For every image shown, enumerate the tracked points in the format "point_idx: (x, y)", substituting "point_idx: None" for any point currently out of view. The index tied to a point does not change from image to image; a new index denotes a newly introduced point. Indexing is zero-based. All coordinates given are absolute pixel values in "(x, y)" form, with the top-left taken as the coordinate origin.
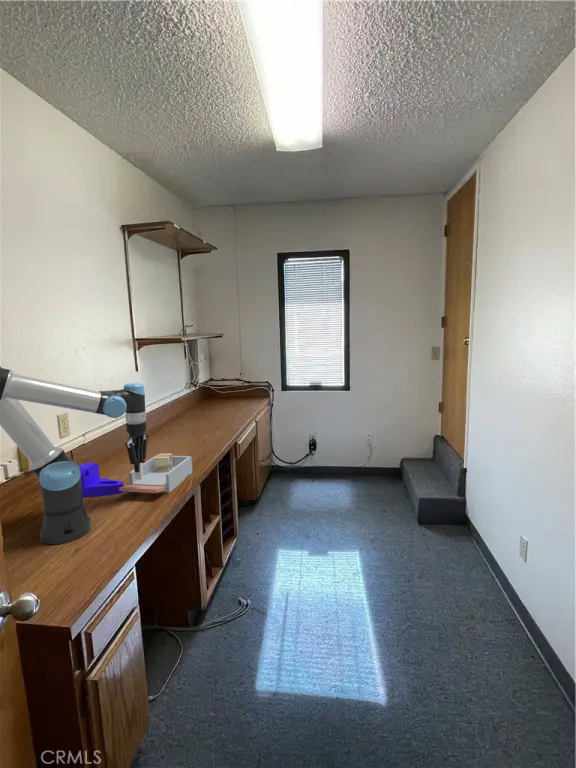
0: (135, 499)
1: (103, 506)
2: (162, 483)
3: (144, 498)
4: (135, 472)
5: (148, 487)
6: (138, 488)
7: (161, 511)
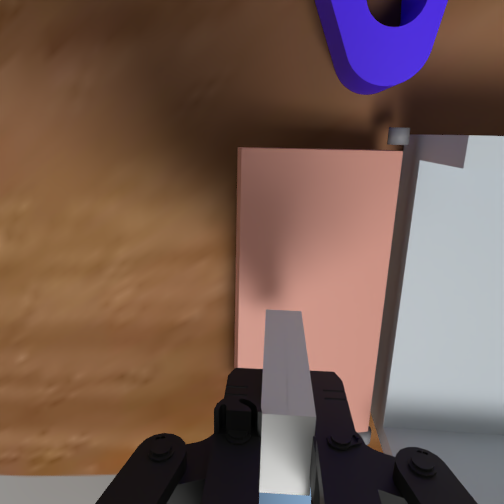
0: None
1: (130, 89)
2: (422, 387)
3: None
4: (264, 351)
5: None
6: (244, 315)
7: None
